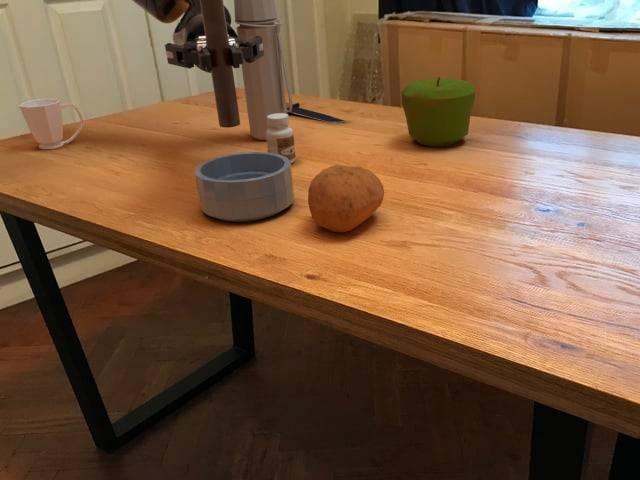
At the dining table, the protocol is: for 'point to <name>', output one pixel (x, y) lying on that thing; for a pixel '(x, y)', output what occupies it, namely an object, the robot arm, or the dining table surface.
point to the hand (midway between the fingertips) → (222, 60)
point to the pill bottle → (280, 136)
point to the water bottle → (262, 64)
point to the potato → (344, 197)
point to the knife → (311, 114)
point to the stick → (220, 62)
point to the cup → (47, 121)
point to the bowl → (245, 186)
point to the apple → (438, 110)
